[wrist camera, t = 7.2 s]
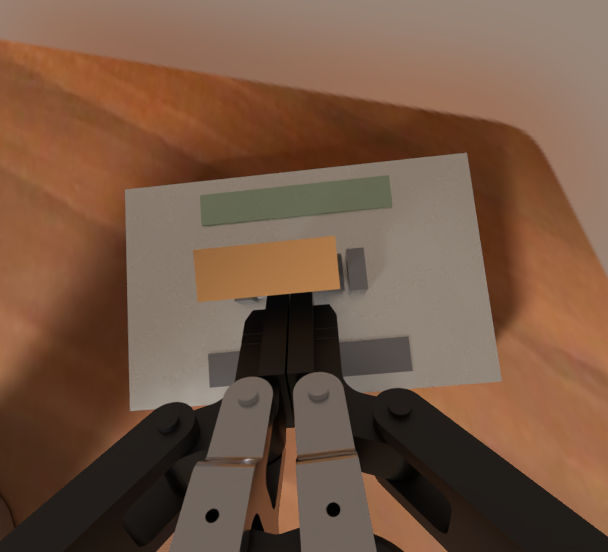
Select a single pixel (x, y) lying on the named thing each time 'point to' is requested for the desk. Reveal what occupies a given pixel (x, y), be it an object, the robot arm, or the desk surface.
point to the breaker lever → (268, 269)
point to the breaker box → (347, 304)
